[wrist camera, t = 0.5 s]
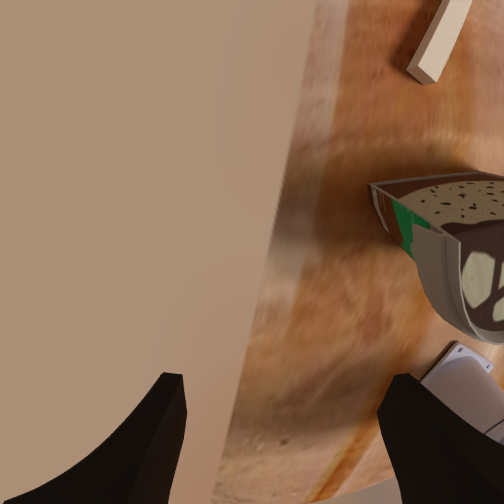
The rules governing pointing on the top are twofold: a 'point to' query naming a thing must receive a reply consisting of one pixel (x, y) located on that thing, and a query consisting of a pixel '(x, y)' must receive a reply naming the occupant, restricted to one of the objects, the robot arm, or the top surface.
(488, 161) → the top surface
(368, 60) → the top surface
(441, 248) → the food container
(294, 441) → the top surface
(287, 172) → the top surface
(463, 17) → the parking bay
